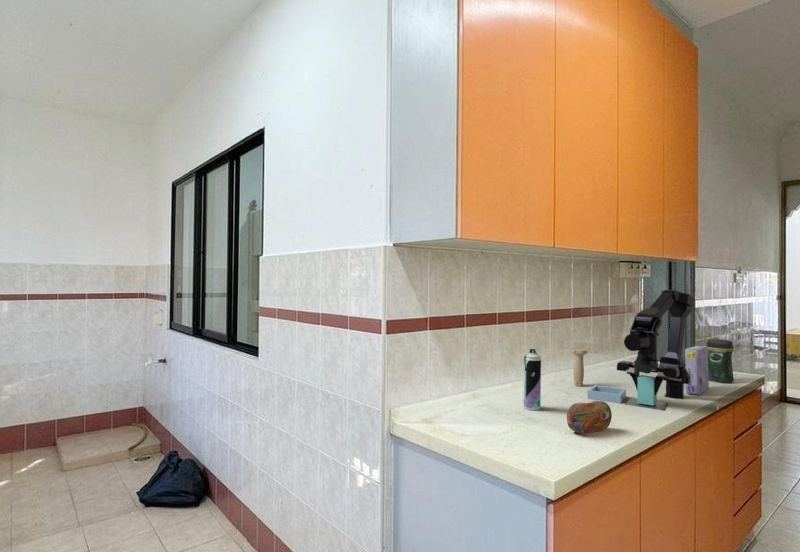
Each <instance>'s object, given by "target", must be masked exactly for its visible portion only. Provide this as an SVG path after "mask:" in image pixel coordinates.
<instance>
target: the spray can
mask: <svg viewBox="0 0 800 552" xmlns="http://www.w3.org/2000/svg"><path fill="white" fill-rule="evenodd" d="M541 357H542V356H541V355H539V354H538V352H537V351H536V348H530V349H529V352H528V353H526V354H525V355H524V357H523V409H524V410H527V411H540V410H541V401H542V400H541V398H542V397H541V393H542V391H541V389H542V387H541V386H542V385H541V384H542V358H541Z"/></svg>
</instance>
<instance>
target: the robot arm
mask: <svg viewBox="0 0 800 552" xmlns="http://www.w3.org/2000/svg"><path fill="white" fill-rule="evenodd" d="M660 292H661V293H660V295H659V296H658V298H657V299H656V300H655V301H654V302H653V303H652V304H651V305H650V306H649V307H648V308H645V309H642V310H641V311H639V312H638V313H637V314H636V316H635V317H634V319H633V321H632V324H631V326H630V330H629V334H627V335H626V336H625V338H624V340H623V343H624V347H625V348H626V349H627V350H629V351H631V352H637V356H636V359H635V360H634V363H633V361H625V360H621V361H619V362H617V363H616V371H621V372H626V374H628V375H629V376H630V377H631V379H632V381H633V382H634V385H635V388H636V390H637V383H638V377H639V376H640V375H641V374H640V373H644V374H650V373H654V374H655V373H657V375H656V376H655V377H656V384H655V395H657V394H658V393H659V390H660V388H661V385H662V383H663V381H665V393H664V396H663V397H664V398H669V399H677V400H685V398H686V396H685V395H684V392H685V391H684V385H686V384H689V383H690V376H689V374H688V372H687V370H686V363H685V359H684V358H683V356H682V355H683V346H684V338H685V329H686V319H687V318H688V316H689V315H690V314H691V313H692V311H693V307H694V306H695V298H694V297H693V296H692V295H691V294H690V293H683V292H681V291H678V290H676V289H663V290H662V291H660ZM667 311H668V312H669V314H670V324H669V331H668V332H669V333H668V339H667V347H666V353H665V354H664V355H663V356H660V357H659V362H658V359H657V357H658V349H657V348H658V337H659V336H660V333H659V332H658V331H659V329H660V327H661V326H662V324H663V319H662V318H663V316H664V315H665V314H666V312H667ZM657 396H658V395H657Z"/></svg>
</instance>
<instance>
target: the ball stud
mask: <svg viewBox="0 0 800 552" xmlns="http://www.w3.org/2000/svg"><path fill="white" fill-rule="evenodd" d="M668 405H669V403H668V402H663V401H657V403H656V404H655V405H647V404H641V403H637V397H630V398H629V400H627V402H626V403H625V406H630V407H632V406H633V407H638V408H645V409H651V410H658V411H662V412H663V411H666V410H667V408H668Z"/></svg>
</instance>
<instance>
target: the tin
mask: <svg viewBox="0 0 800 552" xmlns="http://www.w3.org/2000/svg"><path fill="white" fill-rule="evenodd" d="M612 418H613V417H612V409H611V407H610V405H609V404H608V402H606V401H600V400H589V401H583V402H575V403H573V404H572V405H570V407H569V408H568V409H567V413H566V421H567V422H566V423H567V426H568V428H569V429H570V430H571V431H573V432H574V433H577V434H580V435H586V434H591V433H598V432H603V431H605V430H607V429H608V428H609V426H610V425H611V422H612Z"/></svg>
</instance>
